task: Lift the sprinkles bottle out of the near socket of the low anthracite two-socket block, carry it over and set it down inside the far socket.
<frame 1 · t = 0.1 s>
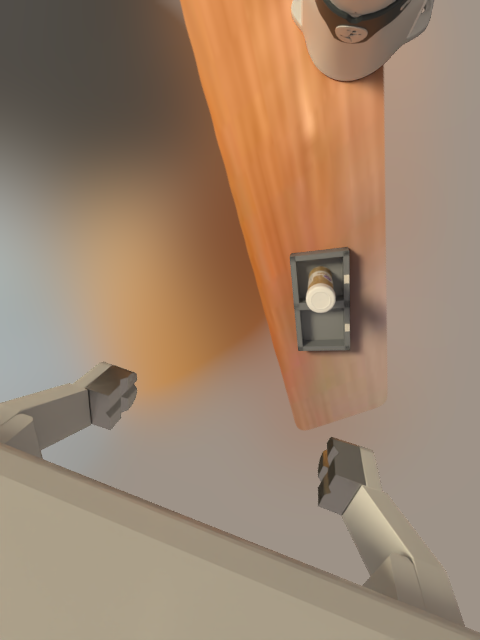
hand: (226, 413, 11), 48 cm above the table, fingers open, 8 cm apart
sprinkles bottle: (319, 276, 55), resting on jack block
jack block: (321, 300, 57), on the table
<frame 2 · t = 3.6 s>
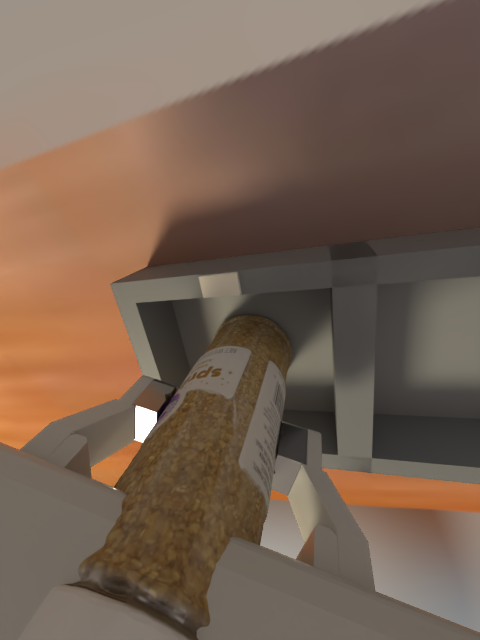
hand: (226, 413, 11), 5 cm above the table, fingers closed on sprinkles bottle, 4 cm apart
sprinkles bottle: (253, 347, 16), resting on jack block, touching gripper
jack block: (347, 347, 14), on the table
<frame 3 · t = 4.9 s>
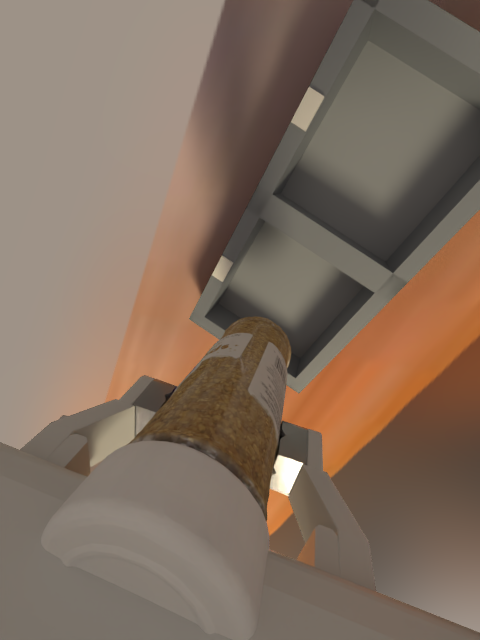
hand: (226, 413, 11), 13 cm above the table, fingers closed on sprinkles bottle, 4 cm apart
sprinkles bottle: (256, 348, 18), point 6 cm above the table, touching gripper
jack block: (326, 237, 19), on the table
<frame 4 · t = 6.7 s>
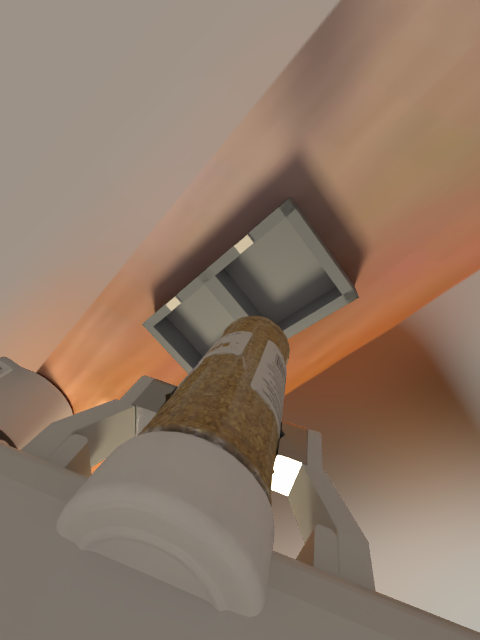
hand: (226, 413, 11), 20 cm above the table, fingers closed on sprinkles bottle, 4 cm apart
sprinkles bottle: (255, 347, 18), point 12 cm above the table, touching gripper
jack block: (243, 301, 31), on the table
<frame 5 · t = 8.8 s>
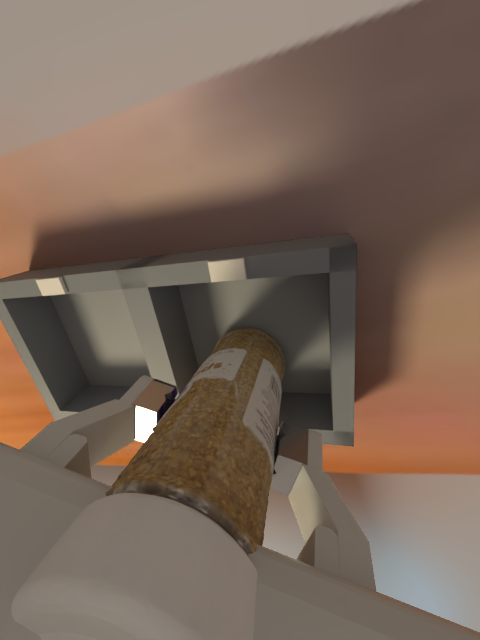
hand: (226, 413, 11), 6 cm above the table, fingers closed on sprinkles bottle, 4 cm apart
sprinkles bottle: (249, 360, 17), resting in jack block, touching gripper
jack block: (180, 335, 18), on the table
when the fingers open (6 cm above the table, at t = 9.1 s): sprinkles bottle stays where it is, resting on jack block.
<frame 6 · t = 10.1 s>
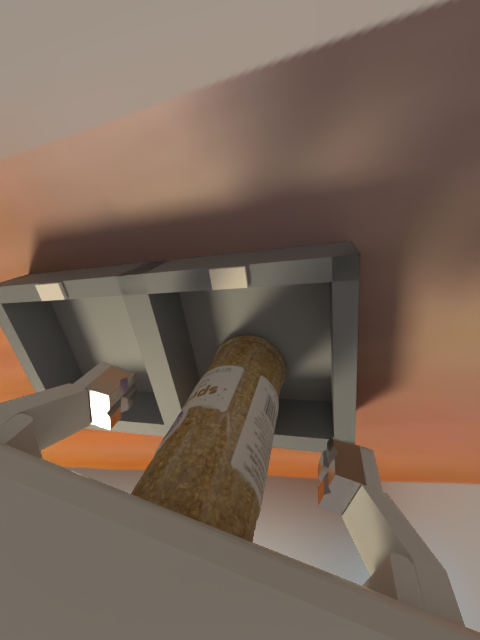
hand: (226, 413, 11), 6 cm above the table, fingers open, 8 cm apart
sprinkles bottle: (251, 363, 17), resting on jack block
jack block: (180, 341, 18), on the table
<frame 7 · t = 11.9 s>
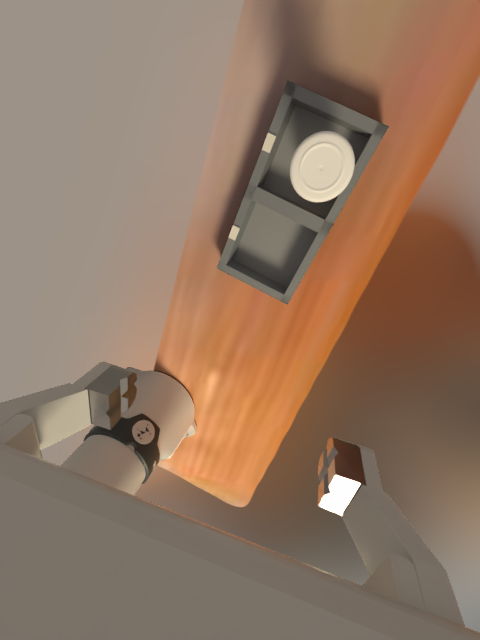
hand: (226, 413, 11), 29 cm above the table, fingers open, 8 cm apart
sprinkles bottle: (322, 175, 31), resting on jack block
jack block: (290, 207, 34), on the table
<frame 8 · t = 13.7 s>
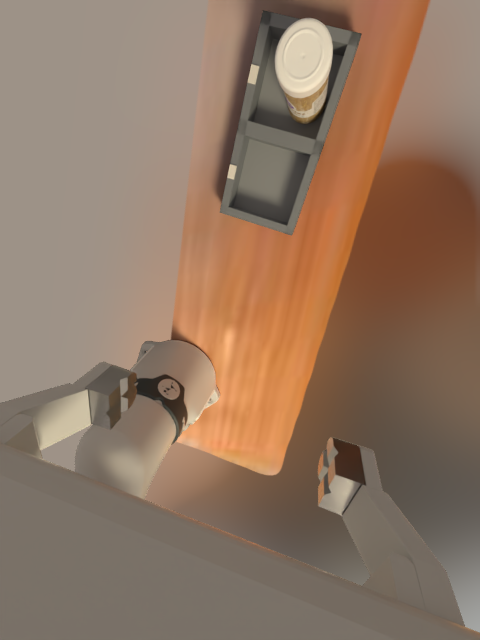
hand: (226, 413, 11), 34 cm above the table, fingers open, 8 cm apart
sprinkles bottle: (307, 102, 34), resting on jack block
jack block: (282, 141, 36), on the table
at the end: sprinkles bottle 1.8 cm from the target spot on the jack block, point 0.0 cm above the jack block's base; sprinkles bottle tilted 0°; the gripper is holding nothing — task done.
